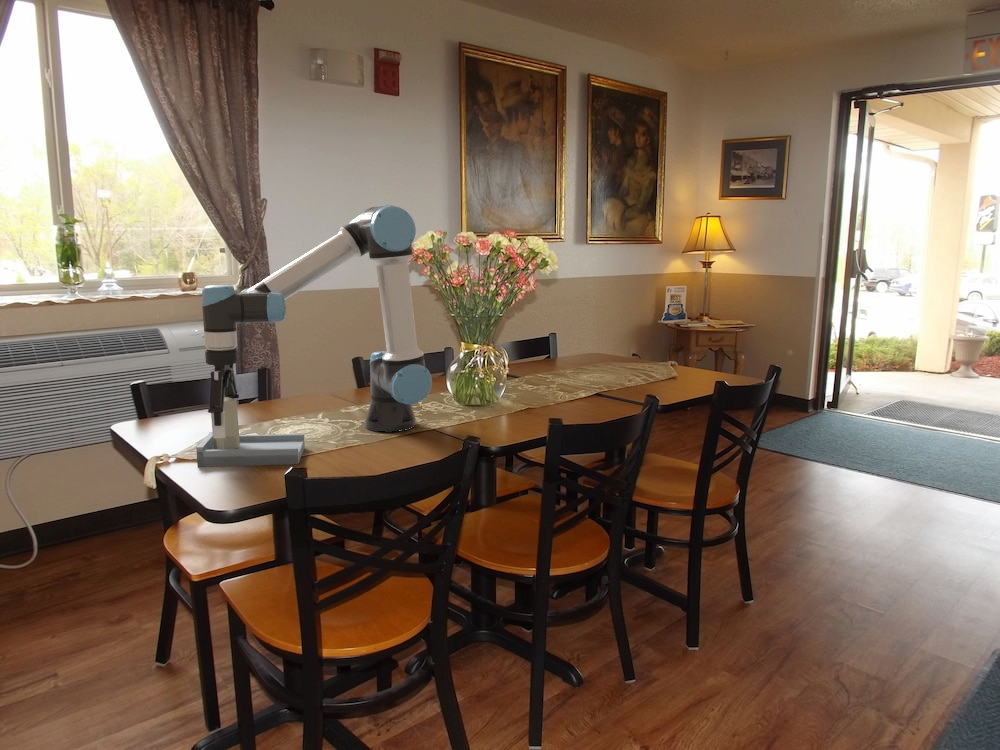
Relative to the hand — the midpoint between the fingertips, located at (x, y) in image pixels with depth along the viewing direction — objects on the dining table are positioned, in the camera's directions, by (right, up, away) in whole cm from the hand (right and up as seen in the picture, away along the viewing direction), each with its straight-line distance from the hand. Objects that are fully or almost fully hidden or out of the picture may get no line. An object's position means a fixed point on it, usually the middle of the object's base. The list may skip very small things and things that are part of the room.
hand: (225, 430), depth 182 cm
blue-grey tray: (+6, -7, +2) cm, 10 cm away
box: (0, -5, +1) cm, 5 cm away
